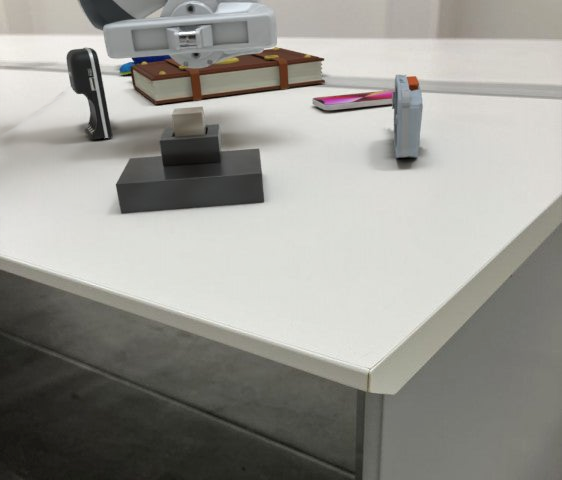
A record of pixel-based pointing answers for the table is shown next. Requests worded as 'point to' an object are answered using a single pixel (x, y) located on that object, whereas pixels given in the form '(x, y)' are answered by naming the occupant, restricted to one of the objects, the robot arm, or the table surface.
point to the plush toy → (137, 60)
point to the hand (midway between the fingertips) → (187, 40)
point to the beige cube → (188, 121)
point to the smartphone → (354, 100)
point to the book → (226, 76)
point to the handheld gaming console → (407, 116)
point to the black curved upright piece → (90, 89)
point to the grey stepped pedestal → (191, 175)
